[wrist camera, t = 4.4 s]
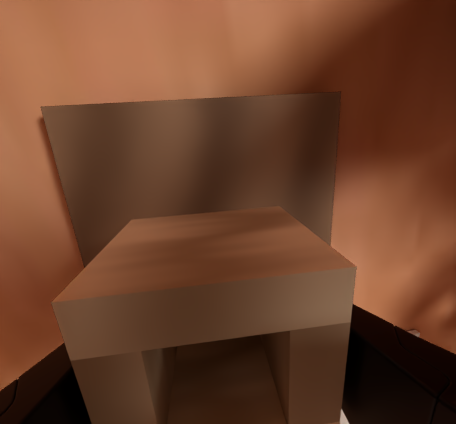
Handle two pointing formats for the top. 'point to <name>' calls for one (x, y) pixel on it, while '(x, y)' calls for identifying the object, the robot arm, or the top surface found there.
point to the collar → (211, 322)
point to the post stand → (194, 160)
